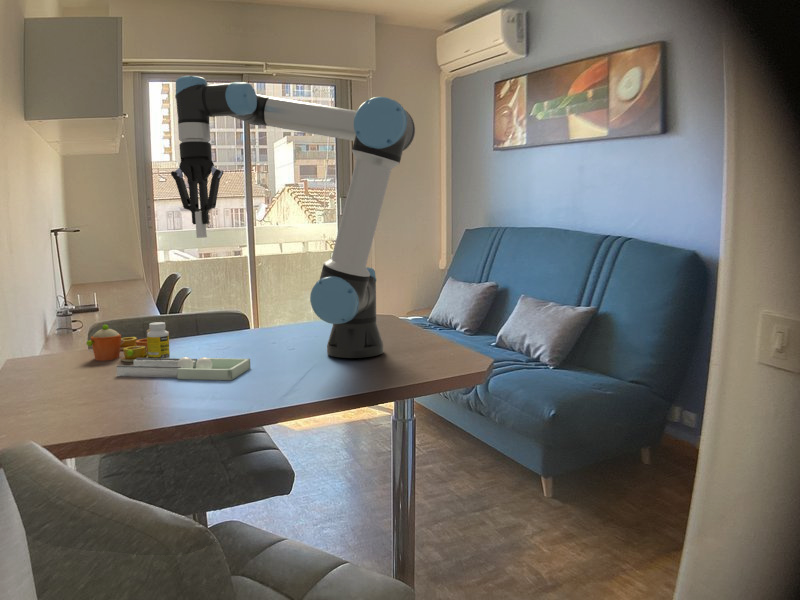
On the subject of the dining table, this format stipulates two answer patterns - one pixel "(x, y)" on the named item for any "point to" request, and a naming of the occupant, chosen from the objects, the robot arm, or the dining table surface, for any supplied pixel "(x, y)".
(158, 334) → the supplement bottle
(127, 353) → the toy tea set
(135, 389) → the dining table surface
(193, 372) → the tray
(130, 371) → the slot rails
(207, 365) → the chip ball
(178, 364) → the chip ball
